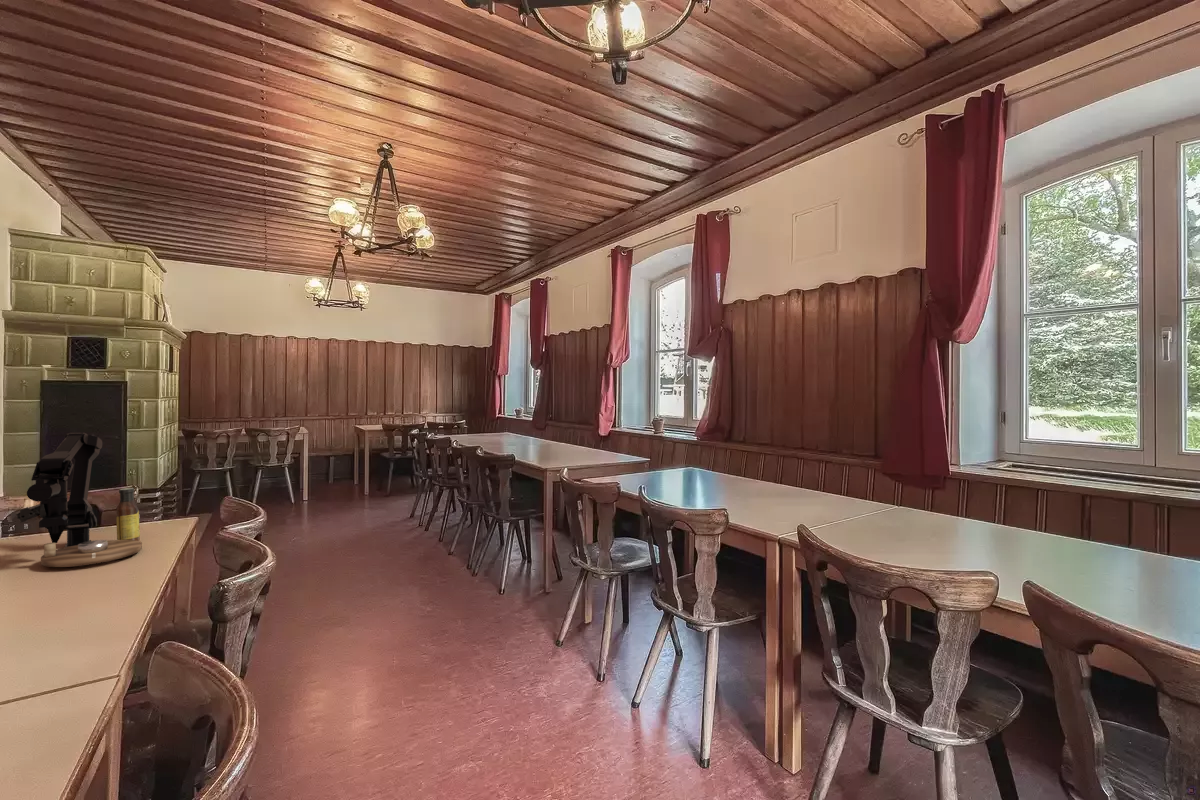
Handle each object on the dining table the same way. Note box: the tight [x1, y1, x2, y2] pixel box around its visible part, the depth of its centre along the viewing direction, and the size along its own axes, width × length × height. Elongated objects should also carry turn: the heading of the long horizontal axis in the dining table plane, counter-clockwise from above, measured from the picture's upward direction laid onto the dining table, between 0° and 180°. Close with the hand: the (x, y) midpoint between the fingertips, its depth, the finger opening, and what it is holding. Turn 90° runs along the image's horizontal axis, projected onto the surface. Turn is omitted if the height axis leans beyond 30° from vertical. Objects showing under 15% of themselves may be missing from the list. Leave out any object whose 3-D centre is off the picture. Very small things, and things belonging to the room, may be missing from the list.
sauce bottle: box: [115, 487, 141, 541], centre depth 191 cm, size 7×6×20 cm
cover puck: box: [78, 539, 109, 554], centre depth 172 cm, size 7×7×2 cm
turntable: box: [40, 539, 143, 568], centre depth 172 cm, size 24×24×6 cm
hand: (54, 543), depth 171 cm, fingers closed
